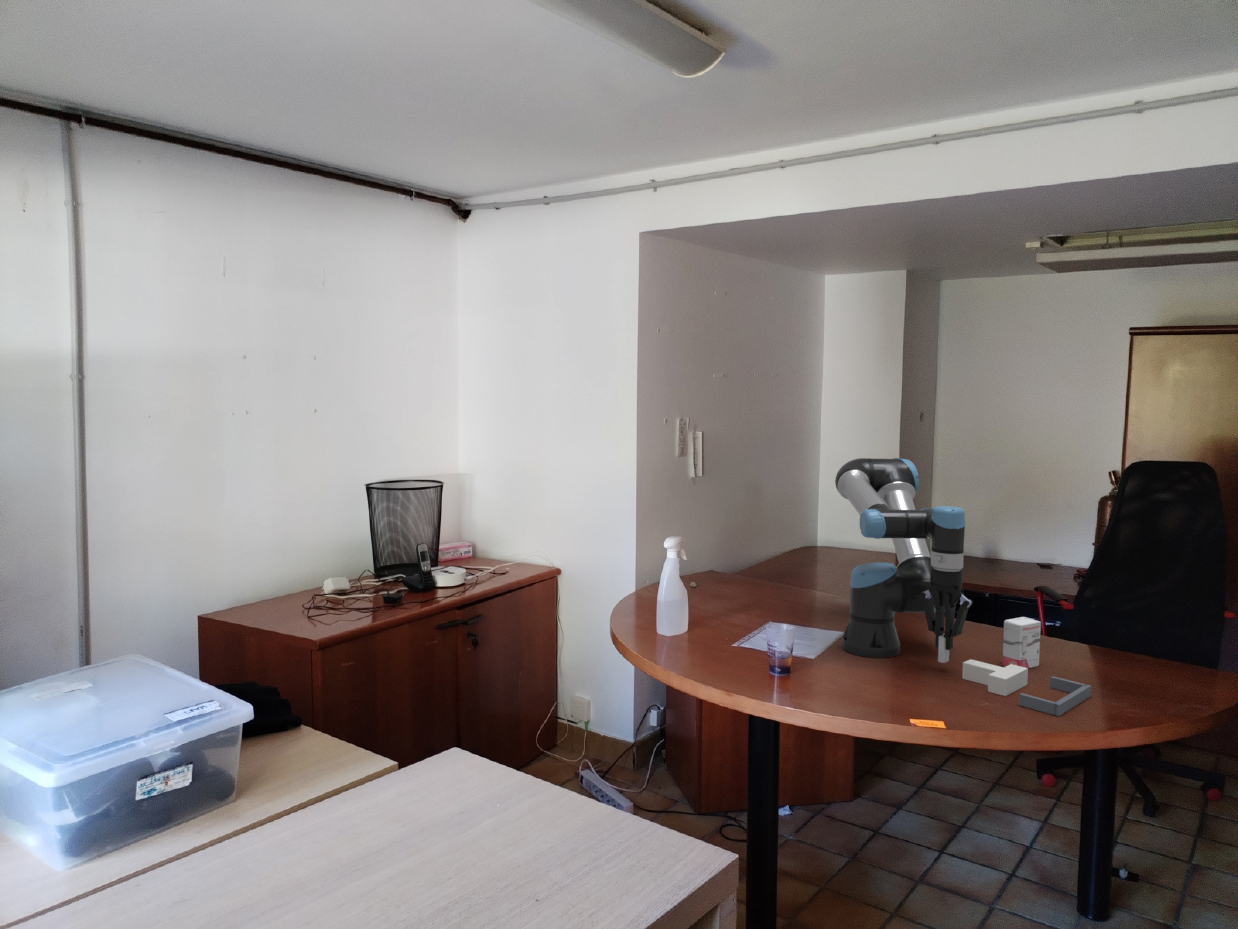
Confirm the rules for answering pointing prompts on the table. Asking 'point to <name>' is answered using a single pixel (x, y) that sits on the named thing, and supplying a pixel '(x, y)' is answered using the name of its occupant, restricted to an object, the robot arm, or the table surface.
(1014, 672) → the t block
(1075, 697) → the dock
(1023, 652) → the ink box
